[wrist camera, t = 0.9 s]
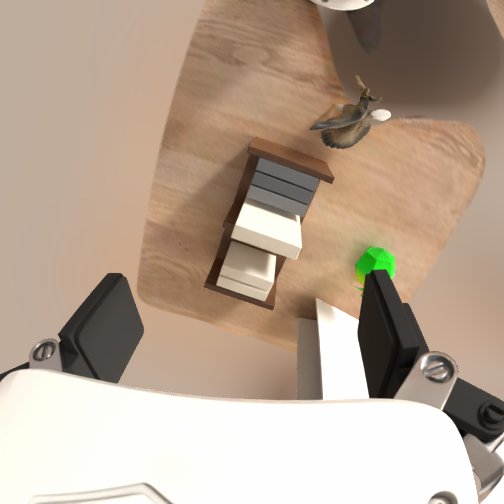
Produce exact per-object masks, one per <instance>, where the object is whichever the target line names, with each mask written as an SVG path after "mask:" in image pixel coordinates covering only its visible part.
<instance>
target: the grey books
mask: <svg viewBox="0 0 504 504" xmlns="http://www.w3.org/2000/svg"><path fill="white" fill-rule="evenodd" d="M318 182H319V179H318V178H315V177H313V176H310V175H308V174H305V173H303V172H300V171H297V170H295V169H292V168H290V167H287V166H284V165H281V164H279V163H276V162H273V161H270V160H268V159H265V158H262V157H260V159H259V161H258V164H257V167H256V170H255V173H254V175H253V178H252V181H251V184H250V187H249V190H248V192H247V195H246V197H249V198H251V199H254V200H257V201H260V202H263V203H265V204H268V205H271V206H274V207H277V208H279V209H282V210H285V211H287V212H290V213H293V214H296V215H298V216H301V217H304V214H305V212H306V210H307V207H308V204H309V203H310V200H311V198H312V196H313V191H315V189H316V187H317V184H318Z"/></svg>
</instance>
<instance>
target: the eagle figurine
mask: <svg viewBox="0 0 504 504" xmlns="http://www.w3.org/2000/svg"><path fill="white" fill-rule="evenodd" d="M356 82H357V83H358V85H359V87H360V92H361V98H360V102H359V103H358V104H357V105H349V104H347V105H337V104H336V103H335V104H334V106H335V107H336V108H337V109H338V110H339V111H341V112H344V113H343V114H342V115H340V116H338V117H335V118H332V119H329V120H328V121H326V122H321V123H318V124H315V125H314V126H313V127H312V128H311V129H310V130H318V129H323V128H331V129H328V130H324V131H322V132H321V134H322V137H321V138H322V139H323V143H325V145H326V146H330V147H331V148H335V147H337V149H339V148H341V149H345V148H350V147H351V146H353V145H354V144H356V143H357V142H358V141H359V140H361V139H362V138H363V136H365V135H366V134H367V133H368V132H369V129H370V127H371V125H370V121H371V119H377V120H380V121H384V120H385V119H387V118H390V116H391V114H390V112H388V111H386V110H383V109H378V110H374V111H370V110H367V106H368V101H369V100H370V101H372V102H374V103H375V102H377V103H378V102H379V101H380V100H382V98H374V97H372V96H369V92H370V90H369V89H368V88H365V86H364V85H363V84H362V82H361V81H360V78H359V77H358V76H357V75H356Z"/></svg>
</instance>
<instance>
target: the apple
mask: <svg viewBox="0 0 504 504" xmlns="http://www.w3.org/2000/svg"><path fill="white" fill-rule="evenodd" d="M355 267H356V278H357V280H358V281H359V282H360V283H361V284H362V285H364V281H365V275H366V274H370V272H371V270H377V269H386V270H387V272H388V274H389V276H390V278H391V279H392V277H393V275H394V273H395V257H394V256H392V255H391V254H390V253H388V252H387V251H386V250H384V249H382V248H375V247H370V248H369V249H368V250H367V251H366V253H365V254H364V255H363V256H362V257H361V259H360V260H359V261H358V262H357V263H356V264H355ZM353 286H354V285H353ZM356 288H357V287H356ZM358 289H359V290H361V291H363V289H364V288H358ZM361 296H363V293H362V294H361Z"/></svg>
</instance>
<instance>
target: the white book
mask: <svg viewBox="0 0 504 504" xmlns="http://www.w3.org/2000/svg"><path fill="white" fill-rule="evenodd" d="M231 238H234V239H237V240H239V241H242V242H245V243H248V244H251V245H254V246H257V247H259V248H262V249H265V250H268V251H271V252H274V253H277V254H279V255H282V256H285V257H288V258H291V259H294V260H296V259H297V257H298V255H299V253H300V251H301V249H302V243H301V229H300V216H298V215H296V214H293V213H290V212H287V211H285V210H282V209H279V208H277V207H274V206H271V205H268V204H265V203H263V202H260V201H257V200H254V199H251V198H249V197H246V199H245V201H244V204H243V206H242V209H241V211H240V214H239V216H238V219H237V221H236V224H235V227H234V230H233V233H232V235H231Z"/></svg>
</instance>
